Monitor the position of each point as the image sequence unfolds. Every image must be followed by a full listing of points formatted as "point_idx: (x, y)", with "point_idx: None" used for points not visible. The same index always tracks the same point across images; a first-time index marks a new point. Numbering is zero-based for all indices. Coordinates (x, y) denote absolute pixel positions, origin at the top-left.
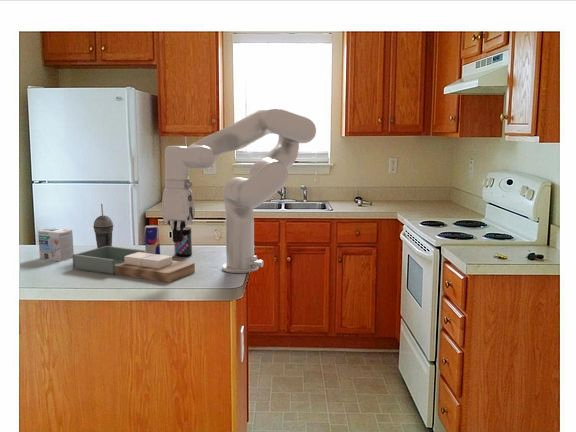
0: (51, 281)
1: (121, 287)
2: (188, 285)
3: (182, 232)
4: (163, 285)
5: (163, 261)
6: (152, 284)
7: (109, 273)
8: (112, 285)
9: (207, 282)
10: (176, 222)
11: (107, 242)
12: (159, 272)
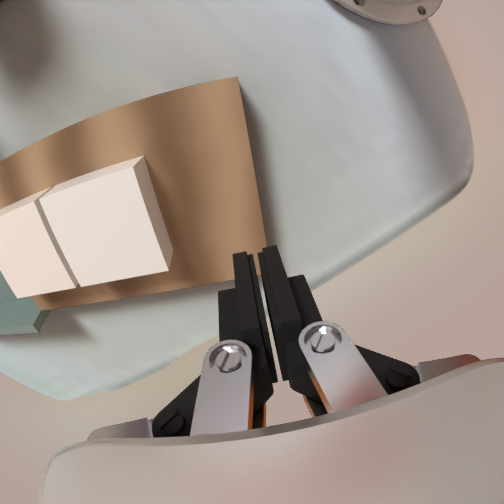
0: (48, 377)
1: (188, 347)
2: (349, 233)
3: (319, 317)
4: None
5: (159, 233)
6: None
7: None
8: (153, 348)
9: (386, 171)
10: (237, 416)
11: None
12: (224, 279)
